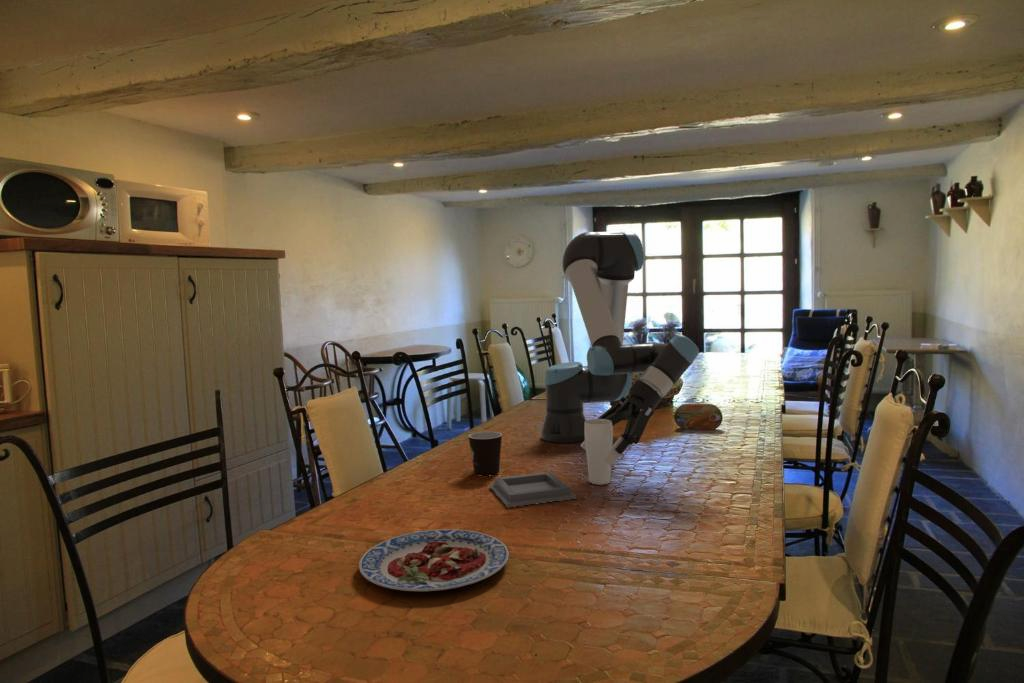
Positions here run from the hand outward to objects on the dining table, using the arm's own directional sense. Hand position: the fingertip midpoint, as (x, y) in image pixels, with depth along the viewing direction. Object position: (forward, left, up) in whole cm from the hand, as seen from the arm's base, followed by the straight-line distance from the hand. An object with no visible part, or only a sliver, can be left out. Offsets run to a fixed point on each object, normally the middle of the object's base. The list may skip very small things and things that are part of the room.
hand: (595, 455), depth 162 cm
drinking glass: (0, +1, -7) cm, 7 cm away
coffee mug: (-20, -22, -7) cm, 31 cm away
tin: (-43, +54, -7) cm, 69 cm away
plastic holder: (+2, -17, -7) cm, 18 cm away
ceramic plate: (+35, -45, -7) cm, 57 cm away
